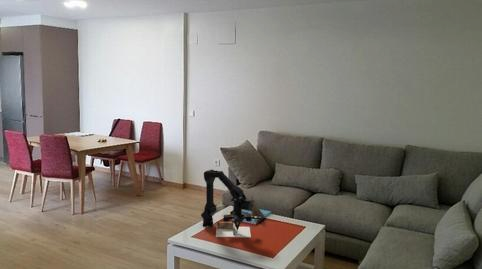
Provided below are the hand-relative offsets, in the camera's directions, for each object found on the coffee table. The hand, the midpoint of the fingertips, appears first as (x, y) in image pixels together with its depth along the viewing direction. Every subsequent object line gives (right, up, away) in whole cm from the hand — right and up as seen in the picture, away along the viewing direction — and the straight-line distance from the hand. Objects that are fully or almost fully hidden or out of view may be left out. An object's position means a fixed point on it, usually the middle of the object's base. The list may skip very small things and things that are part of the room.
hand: (237, 230), depth 260 cm
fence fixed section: (-8, -1, +7) cm, 10 cm away
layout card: (-3, -2, +2) cm, 4 cm away
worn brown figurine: (+14, +2, +30) cm, 34 cm away
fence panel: (-2, -1, +1) cm, 3 cm away
